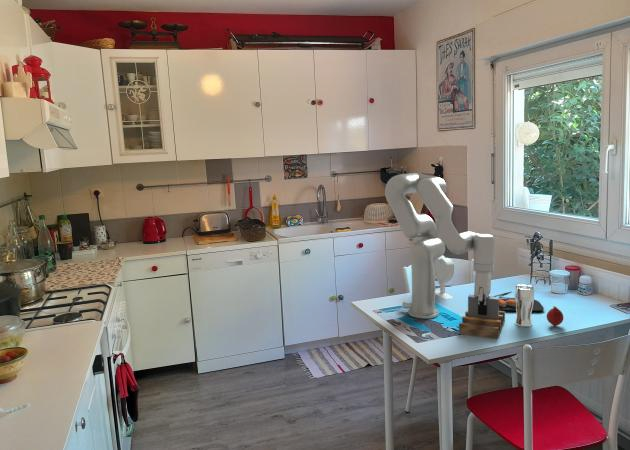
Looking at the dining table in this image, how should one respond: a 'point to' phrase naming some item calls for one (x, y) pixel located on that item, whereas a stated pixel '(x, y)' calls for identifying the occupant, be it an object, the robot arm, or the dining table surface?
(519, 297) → the beer glass
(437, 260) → the heart sculpture
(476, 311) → the grey rectangular block
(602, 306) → the dining table surface
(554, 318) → the onion
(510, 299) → the sushi plate
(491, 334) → the rack
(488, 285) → the robot arm
